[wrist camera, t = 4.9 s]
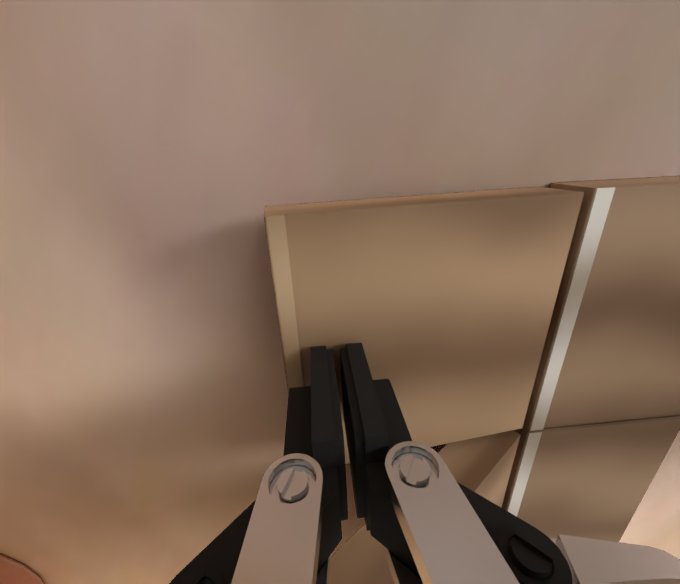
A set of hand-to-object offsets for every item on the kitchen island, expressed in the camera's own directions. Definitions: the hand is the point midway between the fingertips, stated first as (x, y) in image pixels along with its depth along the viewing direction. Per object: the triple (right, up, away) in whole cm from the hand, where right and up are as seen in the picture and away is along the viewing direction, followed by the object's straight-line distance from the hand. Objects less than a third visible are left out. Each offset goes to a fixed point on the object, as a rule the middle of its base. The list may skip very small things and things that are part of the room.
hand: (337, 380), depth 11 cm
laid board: (+12, -2, +5) cm, 14 cm away
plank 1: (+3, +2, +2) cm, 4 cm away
